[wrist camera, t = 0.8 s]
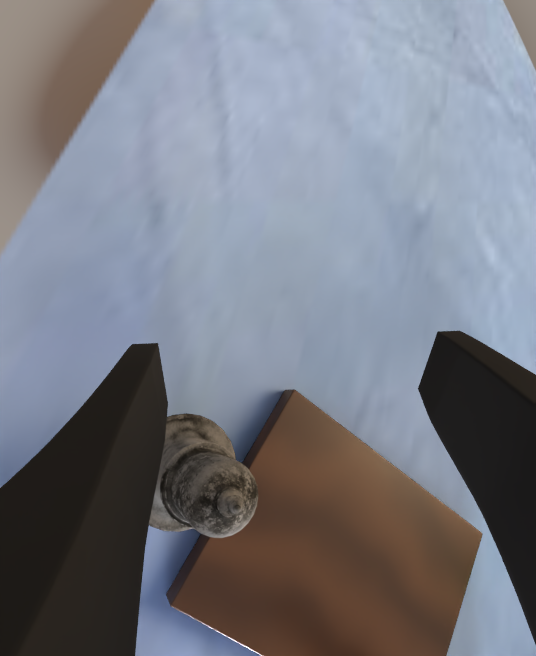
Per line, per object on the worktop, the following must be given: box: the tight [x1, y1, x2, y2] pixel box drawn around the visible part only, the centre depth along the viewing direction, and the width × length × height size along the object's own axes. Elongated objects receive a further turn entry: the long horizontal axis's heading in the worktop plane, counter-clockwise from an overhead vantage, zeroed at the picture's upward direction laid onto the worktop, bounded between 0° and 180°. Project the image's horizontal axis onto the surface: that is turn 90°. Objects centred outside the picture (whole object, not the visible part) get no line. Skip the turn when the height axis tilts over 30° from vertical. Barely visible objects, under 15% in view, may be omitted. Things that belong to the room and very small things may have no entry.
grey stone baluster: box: [149, 414, 258, 538], centre depth 18 cm, size 6×6×12 cm
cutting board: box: [166, 390, 482, 656], centre depth 27 cm, size 14×20×2 cm
